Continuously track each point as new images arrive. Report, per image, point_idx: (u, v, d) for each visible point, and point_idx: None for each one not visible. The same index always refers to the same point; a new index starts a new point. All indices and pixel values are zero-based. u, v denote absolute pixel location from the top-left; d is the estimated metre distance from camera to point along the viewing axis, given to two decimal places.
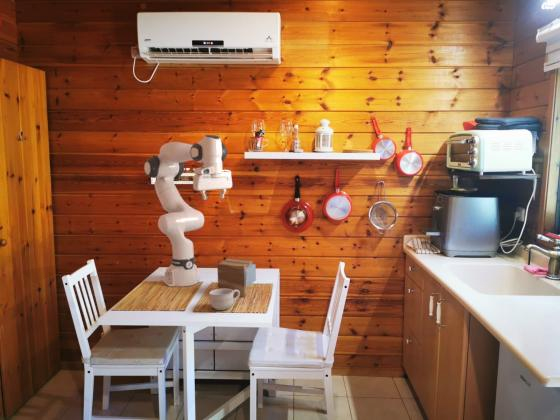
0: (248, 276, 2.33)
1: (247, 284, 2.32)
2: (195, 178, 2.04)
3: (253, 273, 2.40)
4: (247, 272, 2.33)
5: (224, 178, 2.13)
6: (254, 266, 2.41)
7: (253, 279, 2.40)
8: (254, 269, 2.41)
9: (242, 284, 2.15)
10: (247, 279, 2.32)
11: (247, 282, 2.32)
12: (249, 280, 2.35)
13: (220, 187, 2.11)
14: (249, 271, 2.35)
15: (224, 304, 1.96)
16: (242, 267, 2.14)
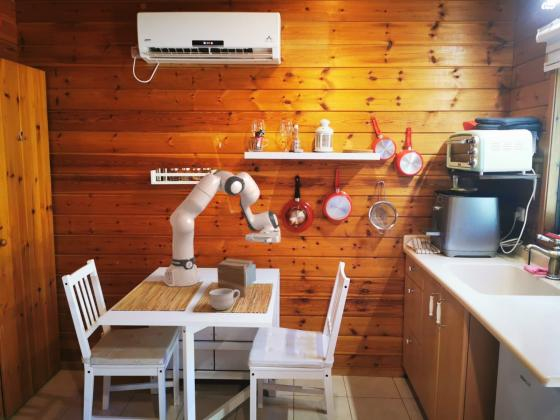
0: (248, 276, 2.33)
1: (247, 284, 2.32)
2: (279, 236, 2.57)
3: (253, 273, 2.40)
4: (247, 272, 2.33)
5: None
6: (254, 266, 2.41)
7: (253, 279, 2.40)
8: (254, 269, 2.41)
9: (242, 284, 2.15)
10: (247, 279, 2.32)
11: (247, 282, 2.32)
12: (249, 280, 2.35)
13: (257, 241, 2.56)
14: (249, 271, 2.35)
15: (224, 304, 1.96)
16: (242, 267, 2.14)
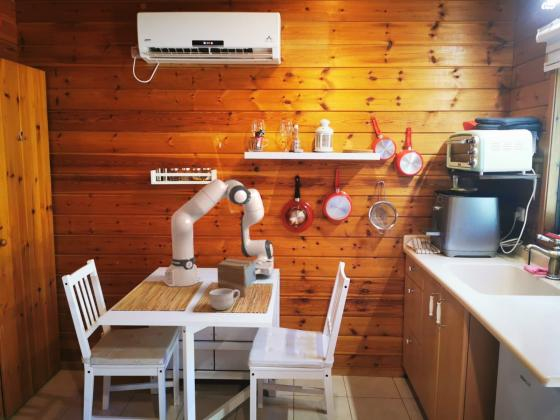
0: (248, 276, 2.33)
1: (247, 284, 2.32)
2: (272, 267, 2.46)
3: None
4: (247, 272, 2.33)
5: None
6: (254, 266, 2.41)
7: (253, 279, 2.40)
8: (254, 269, 2.41)
9: (242, 284, 2.15)
10: (247, 279, 2.32)
11: (247, 282, 2.32)
12: (249, 280, 2.35)
13: None
14: (249, 270, 2.35)
15: (224, 304, 1.96)
16: (242, 267, 2.14)
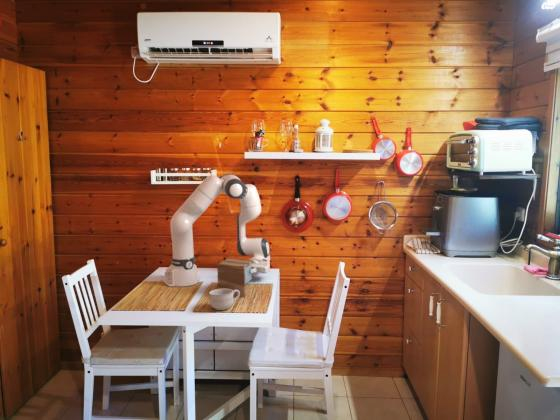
0: None
1: None
2: None
3: None
4: None
5: None
6: (250, 265, 2.36)
7: (249, 278, 2.35)
8: (250, 268, 2.36)
9: (242, 284, 2.15)
10: None
11: None
12: (245, 279, 2.29)
13: None
14: (245, 269, 2.30)
15: (224, 304, 1.96)
16: (242, 267, 2.14)
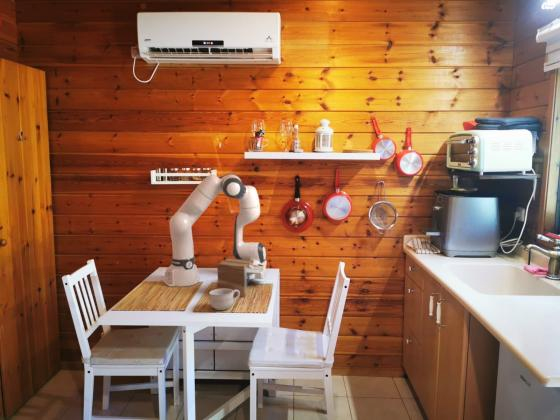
0: None
1: None
2: (264, 272, 2.35)
3: None
4: None
5: None
6: (245, 272, 2.30)
7: None
8: (245, 275, 2.30)
9: (242, 284, 2.15)
10: None
11: None
12: None
13: None
14: None
15: (224, 304, 1.96)
16: (242, 267, 2.14)
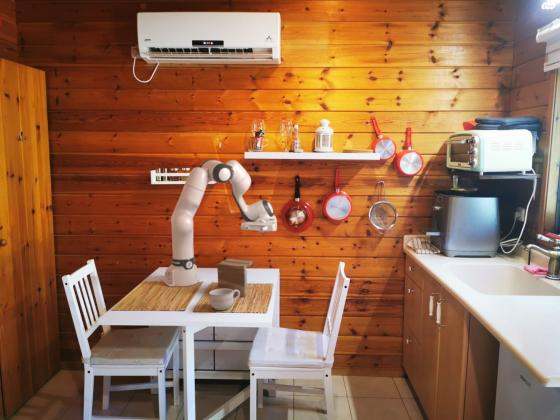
0: None
1: None
2: None
3: None
4: None
5: None
6: (245, 272, 2.30)
7: None
8: (245, 275, 2.30)
9: (242, 284, 2.15)
10: None
11: None
12: None
13: None
14: None
15: (224, 304, 1.96)
16: (242, 267, 2.14)
